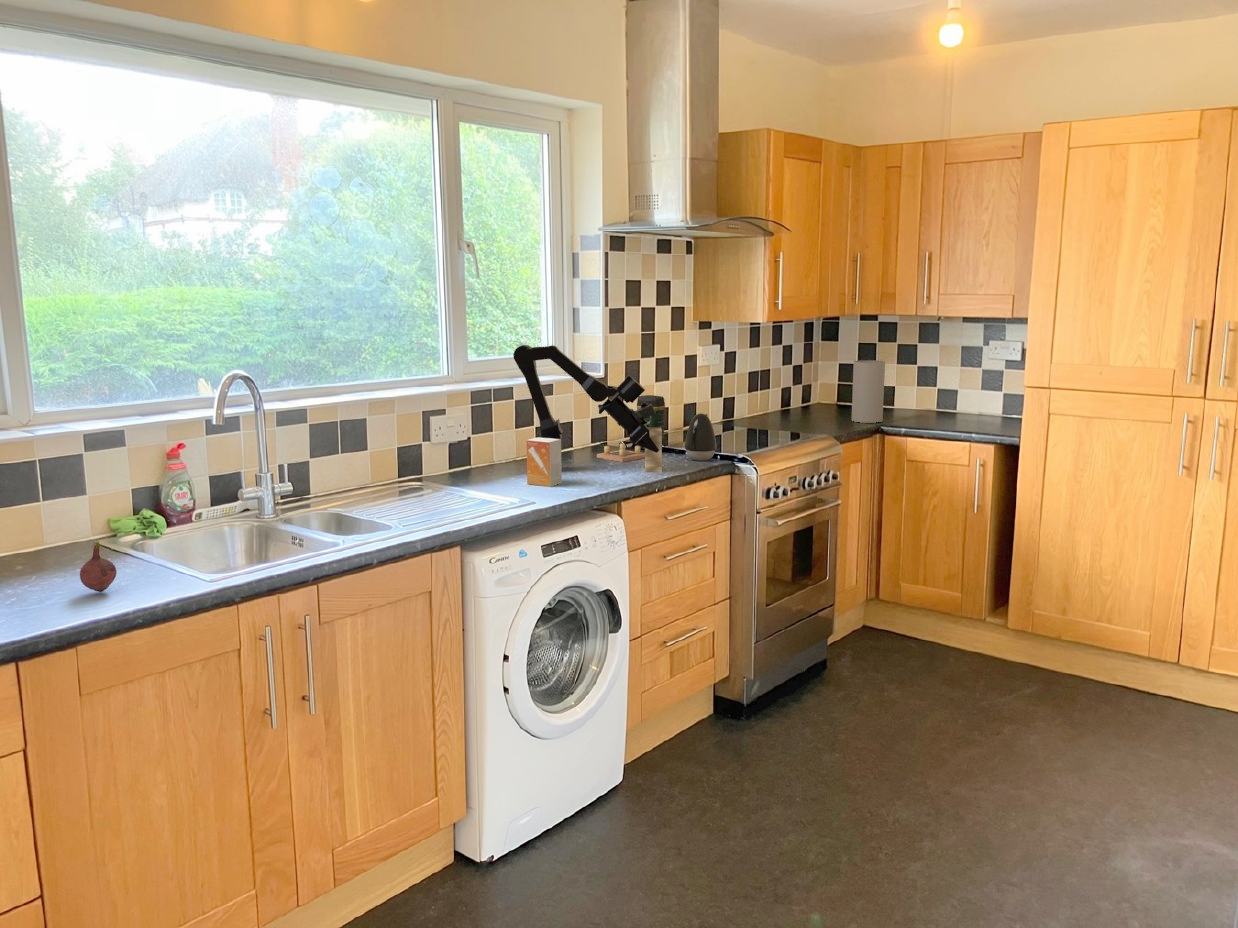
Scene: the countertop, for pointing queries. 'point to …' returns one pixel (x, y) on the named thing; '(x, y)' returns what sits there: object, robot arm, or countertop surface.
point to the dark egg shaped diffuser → (700, 438)
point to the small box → (544, 461)
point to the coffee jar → (659, 408)
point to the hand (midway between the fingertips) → (657, 449)
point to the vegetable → (97, 572)
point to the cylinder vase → (868, 391)
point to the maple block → (652, 458)
